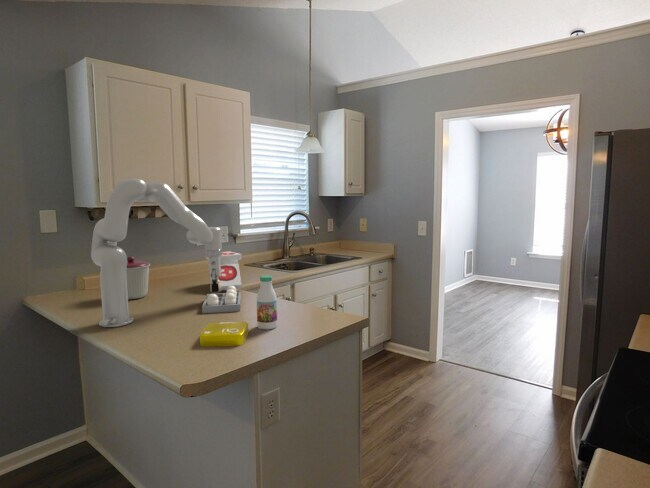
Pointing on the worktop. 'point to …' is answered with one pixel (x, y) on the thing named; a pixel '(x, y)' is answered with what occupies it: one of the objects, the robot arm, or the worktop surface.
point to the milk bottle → (266, 304)
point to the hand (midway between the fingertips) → (215, 290)
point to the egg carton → (222, 301)
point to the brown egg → (218, 285)
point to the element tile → (224, 334)
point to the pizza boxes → (229, 270)
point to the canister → (137, 278)
